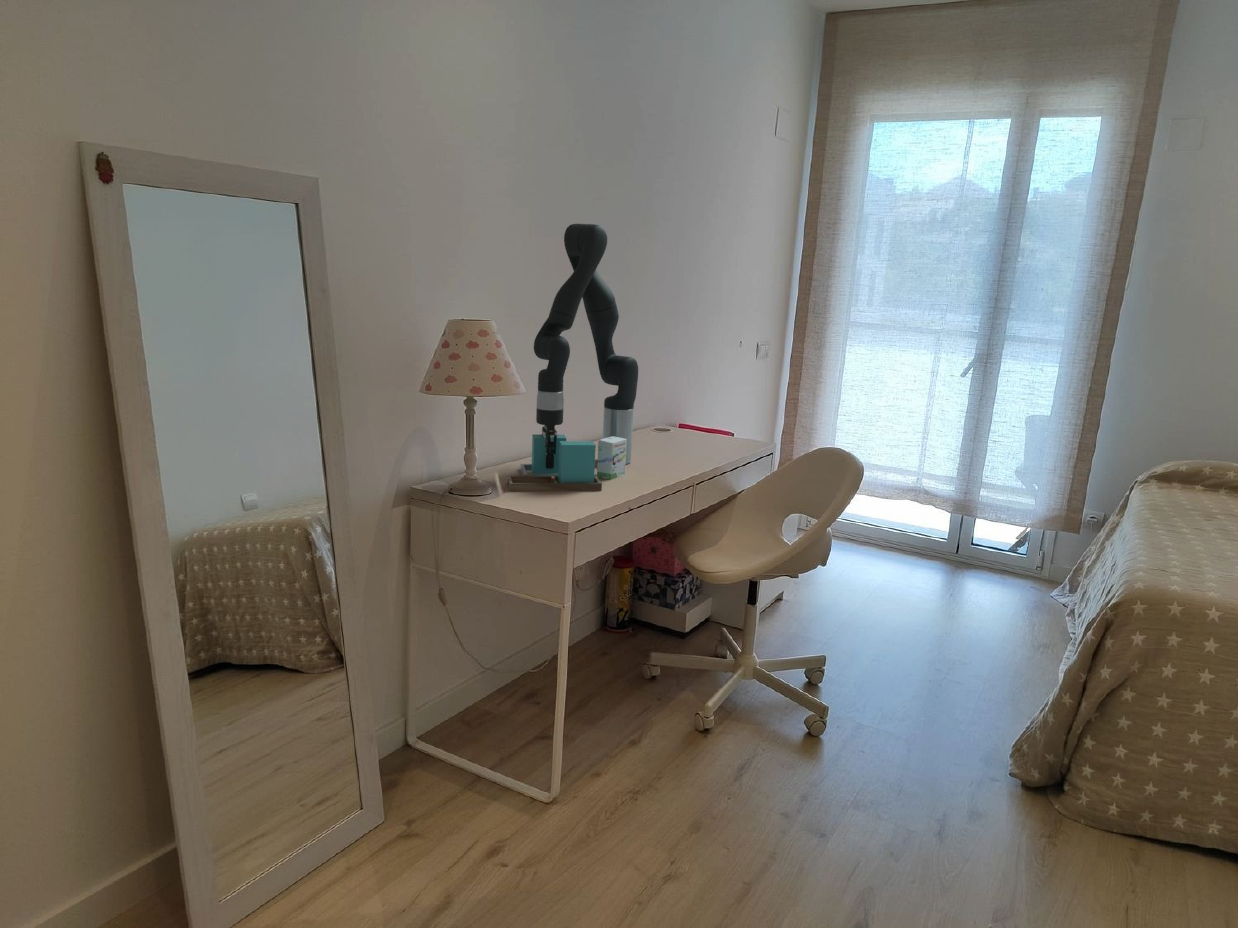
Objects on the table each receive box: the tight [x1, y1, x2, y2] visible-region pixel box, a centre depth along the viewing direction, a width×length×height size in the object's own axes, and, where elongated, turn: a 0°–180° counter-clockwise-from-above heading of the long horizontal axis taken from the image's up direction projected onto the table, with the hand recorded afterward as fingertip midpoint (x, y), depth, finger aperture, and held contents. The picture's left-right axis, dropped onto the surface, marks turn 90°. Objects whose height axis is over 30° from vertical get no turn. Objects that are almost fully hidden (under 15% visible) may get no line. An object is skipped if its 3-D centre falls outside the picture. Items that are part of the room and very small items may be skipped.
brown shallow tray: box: [506, 474, 603, 492], centre depth 215 cm, size 9×24×3 cm, turn 102°
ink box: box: [596, 436, 627, 481], centre depth 229 cm, size 8×5×12 cm, turn 150°
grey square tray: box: [519, 463, 558, 476], centre depth 228 cm, size 13×15×2 cm
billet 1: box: [531, 433, 567, 474], centre depth 227 cm, size 5×9×12 cm, turn 102°
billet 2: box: [558, 440, 597, 483], centre depth 215 cm, size 5×9×12 cm, turn 102°
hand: (548, 465), depth 228 cm, fingers closed on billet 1, 5 cm apart
